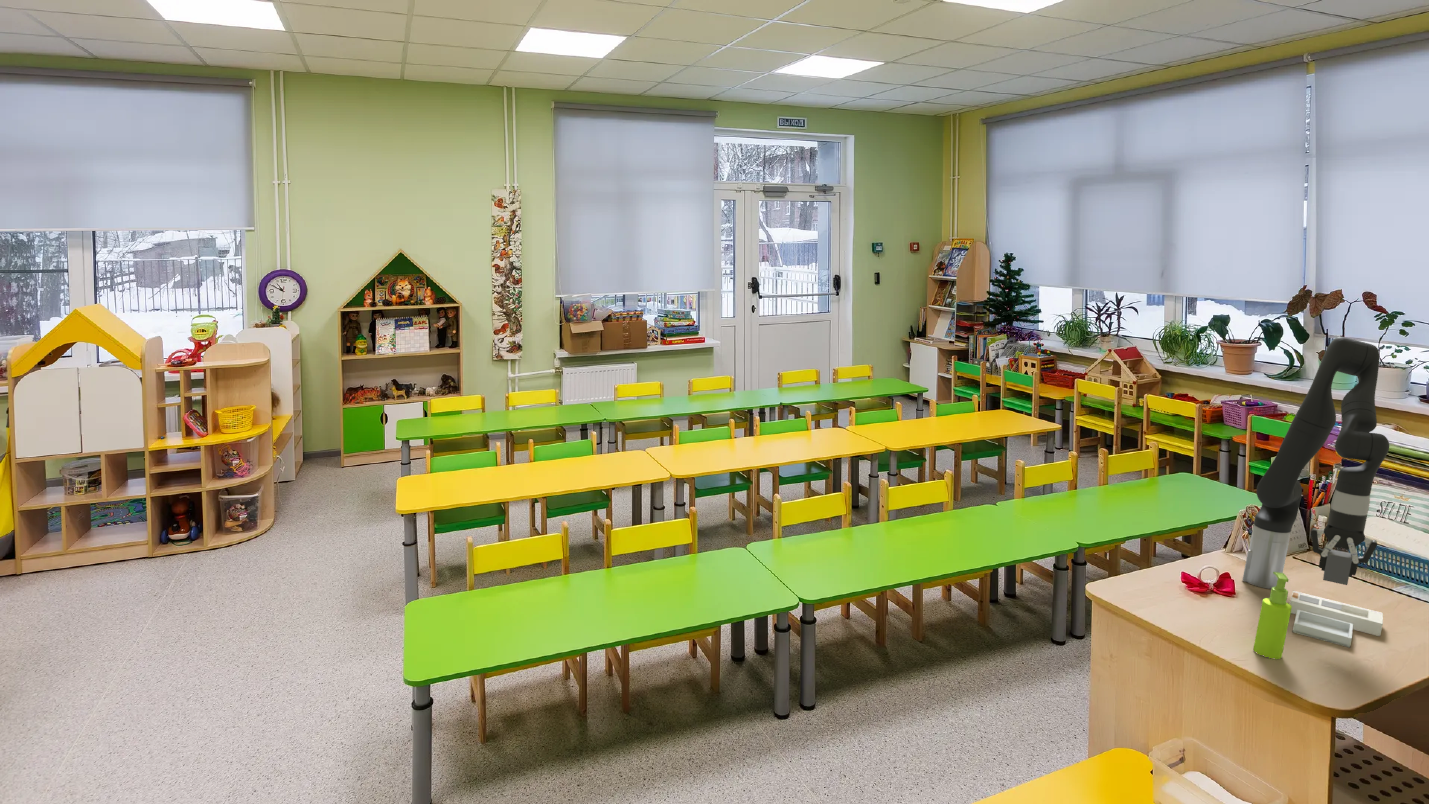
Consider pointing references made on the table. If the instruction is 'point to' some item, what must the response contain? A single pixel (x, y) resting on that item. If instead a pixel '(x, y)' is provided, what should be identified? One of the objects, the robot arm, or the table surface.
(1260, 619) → the soap dispenser
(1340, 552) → the block
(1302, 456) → the robot arm
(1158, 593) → the table surface
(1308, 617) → the tray
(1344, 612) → the power strip
